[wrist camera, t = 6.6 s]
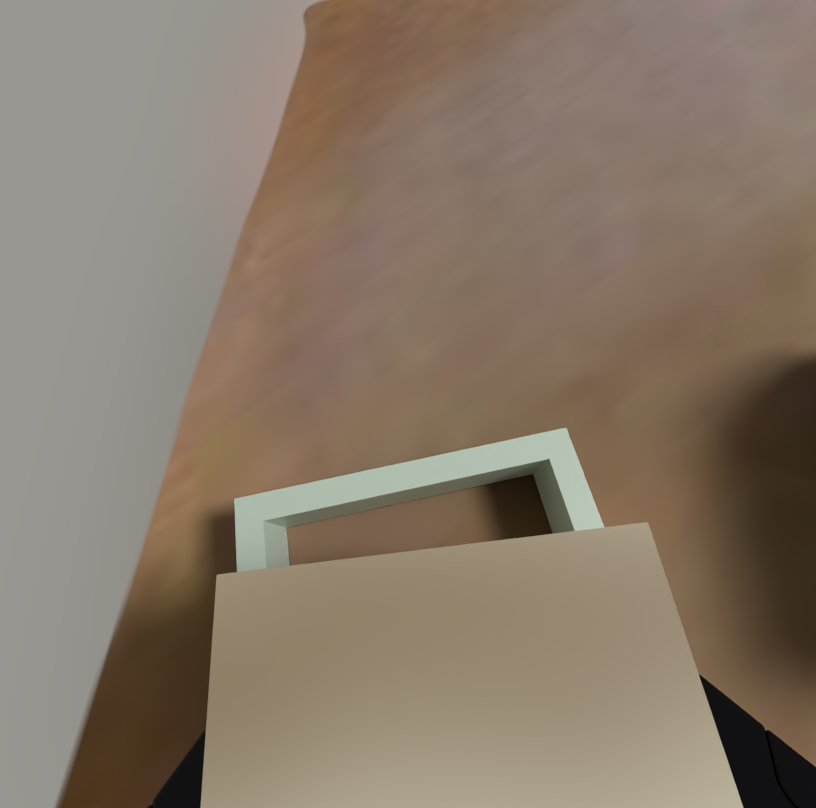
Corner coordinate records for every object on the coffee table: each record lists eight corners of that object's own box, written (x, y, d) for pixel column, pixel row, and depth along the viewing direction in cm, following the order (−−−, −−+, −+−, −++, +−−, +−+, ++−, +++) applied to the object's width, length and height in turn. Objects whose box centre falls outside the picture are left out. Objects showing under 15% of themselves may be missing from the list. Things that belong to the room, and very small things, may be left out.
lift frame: (675, 803, 13) (729, 855, 10) (284, 901, 12) (251, 976, 10) (547, 446, 17) (566, 427, 15) (260, 508, 17) (234, 498, 15)
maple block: (532, 716, 13) (868, 1180, 3) (367, 736, 13) (169, 1264, 3) (501, 556, 15) (648, 522, 5) (358, 573, 15) (217, 574, 5)
